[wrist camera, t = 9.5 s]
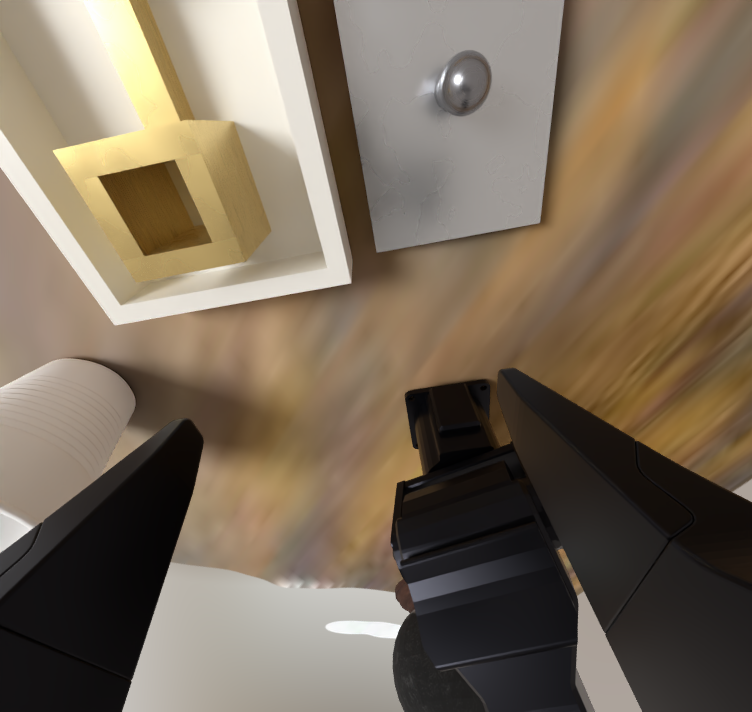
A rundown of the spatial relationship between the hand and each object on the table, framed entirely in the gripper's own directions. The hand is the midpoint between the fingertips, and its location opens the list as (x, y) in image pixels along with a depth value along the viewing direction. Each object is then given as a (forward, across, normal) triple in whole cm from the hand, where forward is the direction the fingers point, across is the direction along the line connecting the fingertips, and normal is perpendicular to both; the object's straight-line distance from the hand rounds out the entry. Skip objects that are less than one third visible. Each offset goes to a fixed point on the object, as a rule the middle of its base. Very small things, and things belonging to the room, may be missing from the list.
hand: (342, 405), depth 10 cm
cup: (+13, +21, +6) cm, 25 cm away
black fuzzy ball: (+13, -2, +49) cm, 50 cm away
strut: (+12, +7, -8) cm, 16 cm away
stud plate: (+12, -6, -8) cm, 16 cm away
